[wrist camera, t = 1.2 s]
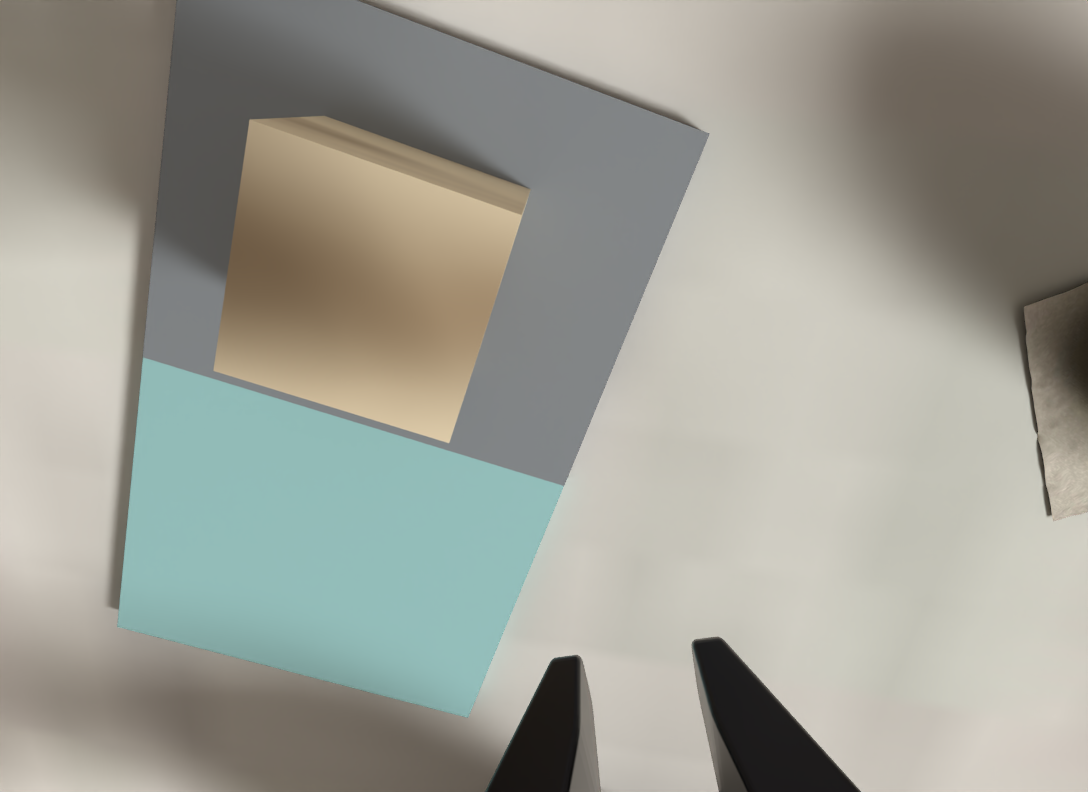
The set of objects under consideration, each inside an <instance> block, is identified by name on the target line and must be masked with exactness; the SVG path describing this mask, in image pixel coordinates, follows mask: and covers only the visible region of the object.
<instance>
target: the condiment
mask: <svg viewBox="0 0 1088 792" xmlns="http://www.w3.org/2000/svg"><path fill="white" fill-rule="evenodd" d="M1024 317H1025V325H1026V331H1027V335H1026V345H1027V351H1028V361H1029V369H1030V374H1031V378H1032V395H1033V400H1034V408H1035V414H1036V420H1037V426H1038V438H1037V439H1038V442H1039V444H1040V447H1041V451H1042V456H1043V460H1044V467H1045V480H1046V487H1047V490H1048V493H1049V499H1050V505H1051V511H1052V518H1053V521H1056V520H1060V519H1063V518H1066V517H1069V516H1073V515H1079V514H1082V513H1085V512H1088V282H1087V283H1085V284H1083V285H1081V286H1078V287H1076V288H1074V289H1072V290H1070V291H1067V292H1065V293H1062V294H1058V295H1055V296H1052V297H1049V298H1046V299H1044V300H1041V301H1038V302H1035V303H1033V304H1030V305H1027V306H1024Z"/></svg>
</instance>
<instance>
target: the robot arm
mask: <svg viewBox="0 0 1088 792" xmlns="http://www.w3.org/2000/svg"><path fill="white" fill-rule="evenodd" d="M692 654H693V661H694V668H695V675H696V682H697V689H698V694H699V699H700V704H701V709H702V713H703V718H704V723H705V728H706V732H707V737H708V742H709V747H710V751H711V756H712V761H713V765H714V770H715V775H716V780H717V784H718V789H719V792H861V791H860V790H859V789H858V788H857V787H856V786H855V784H854V783H853V782H852V781H851V780H850V779H849V778H848V777H847V776H846V775H845V773H844V772H843V771H842V770H841V769H840V768H839V767H838V766H837V765H836V763H835V762H834V761H833V760H832V759H831V758H830V757H829V756H828V755H827V754H826V752H825V751H824V750H823V749H822V748H821V747H820V746H819V745H818V744H817V742H816V741H815V740H814V739H813V738H812V737H811V736H810V735H809V734H808V732H807V731H806V730H805V729H804V728H803V727H802V726H801V725H800V724H799V723H798V721H797V720H796V719H795V718H794V717H793V716H792V715H791V714H790V713H789V711H788V710H787V709H786V708H785V707H784V706H783V705H782V704H781V703H780V702H779V700H778V699H777V698H776V697H775V696H774V695H773V694H772V693H771V692H770V690H769V689H768V688H767V687H766V686H765V685H764V684H763V683H762V682H761V681H760V679H759V678H758V677H757V676H756V675H755V674H754V673H753V672H752V671H751V669H750V668H749V667H748V666H747V665H746V664H745V663H744V662H743V661H742V659H741V658H740V657H739V656H738V655H737V654H736V653H735V652H734V651H733V650H732V648H731V647H730V646H729V645H728V644H727V643H726V642H725V641H724V640H723V639H722V638H720V637H711V638H703V639H696V640H694V641H693V642H692ZM485 792H601V789H600V778H599V768H598V757H597V747H596V737H595V726H594V716H593V707H592V701H591V695H590V691H589V687H588V682H587V678H586V674H585V669H584V665H583V661H582V659H581V657H580V656H578V655H573V656H565V657H558V658H554V659H553V660H552V661H551V662H550V664H549V666H548V668H547V670H546V672H545V674H544V676H543V678H542V680H541V682H540V684H539V686H538V688H537V690H536V692H535V694H534V696H533V698H532V700H531V702H530V704H529V706H528V708H527V710H526V712H525V714H524V716H523V718H522V720H521V722H520V724H519V725H518V727H517V729H516V731H515V733H514V735H513V737H512V739H511V741H510V743H509V745H508V747H507V749H506V751H505V753H504V755H503V757H502V759H501V761H500V763H499V765H498V767H497V769H496V771H495V773H494V775H493V777H492V779H491V781H490V783H489V785H488V787H487V789H486V791H485Z"/></svg>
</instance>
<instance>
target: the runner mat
mask: <svg viewBox="0 0 1088 792" xmlns="http://www.w3.org/2000/svg"><path fill="white" fill-rule="evenodd" d="M310 116H327V117H329V118H332V119H335V120H338V121H341V122H343V123H346V124H349V125H352V126H355V127H357V128H360V129H363V130H366V131H369V132H371V133H374V134H377V135H380V136H383V137H385V138H388V139H391V140H394V141H397V142H399V143H402V144H405V145H408V146H411V147H413V148H416V149H419V150H422V151H425V152H427V153H430V154H433V155H436V156H439V157H441V158H444V159H447V160H450V161H453V162H455V163H458V164H461V165H464V166H467V167H469V168H472V169H475V170H478V171H481V172H483V173H486V174H489V175H492V176H495V177H497V178H500V179H503V180H506V181H509V182H511V183H514V184H517V185H520V186H523V187H525V188H528V189H531V190H530V193H529V196H528V199H527V203H526V206H525V209H524V212H523V215H522V218H521V221H520V224H519V228H518V231H517V234H516V237H515V240H514V243H513V246H512V250H511V253H510V256H509V259H508V262H507V265H506V268H505V271H504V275H503V278H502V281H501V284H500V287H499V290H498V293H497V296H496V300H495V303H494V306H493V309H492V312H491V315H490V318H489V322H488V325H487V328H486V331H485V334H484V337H483V340H482V343H481V347H480V350H479V353H478V356H477V359H476V362H475V365H474V368H473V372H472V375H471V378H470V381H469V384H468V387H467V390H466V393H465V396H464V399H463V402H462V405H461V408H460V411H459V414H458V417H457V421H456V424H455V427H454V430H453V433H452V436H451V439H450V442H449V443H447V442H443V441H440V440H437V439H434V438H430V437H427V436H424V435H421V434H417V433H414V432H411V431H408V430H404V429H401V428H398V427H395V426H391V425H388V424H385V423H381V422H378V421H375V420H372V419H368V418H365V417H362V416H359V415H355V414H352V413H349V412H346V411H342V410H339V409H336V408H333V407H329V406H326V405H323V404H320V403H316V402H313V401H310V400H307V399H303V398H300V397H297V396H294V395H290V394H287V393H284V392H281V391H277V390H274V389H271V388H267V387H264V386H261V385H258V384H254V383H251V382H248V381H245V380H241V379H238V378H235V377H232V376H228V375H225V374H222V373H219V372H215V371H213V370H214V363H215V356H216V349H217V342H218V335H219V328H220V321H221V314H222V308H223V301H224V294H225V287H226V280H227V273H228V266H229V259H230V252H231V245H232V238H233V231H234V224H235V217H236V210H237V203H238V196H239V190H240V183H241V176H242V169H243V162H244V155H245V148H246V141H247V134H248V127H249V120H250V119H270V118H290V117H310ZM708 136H709V133H706V132H704V131H701V130H698V129H696V128H693V127H690V126H688V125H685V124H683V123H680V122H677V121H675V120H672V119H669V118H667V117H664V116H661V115H659V114H656V113H654V112H651V111H648V110H646V109H643V108H640V107H638V106H635V105H632V104H630V103H627V102H624V101H622V100H619V99H617V98H614V97H611V96H609V95H606V94H603V93H601V92H598V91H595V90H593V89H590V88H588V87H585V86H582V85H580V84H577V83H574V82H572V81H569V80H566V79H564V78H561V77H559V76H556V75H553V74H551V73H548V72H545V71H543V70H540V69H537V68H535V67H532V66H529V65H527V64H524V63H522V62H519V61H516V60H514V59H511V58H508V57H506V56H503V55H500V54H498V53H495V52H493V51H490V50H487V49H485V48H482V47H479V46H477V45H474V44H471V43H469V42H466V41H463V40H461V39H458V38H456V37H453V36H450V35H448V34H445V33H442V32H440V31H437V30H434V29H432V28H429V27H427V26H424V25H421V24H419V23H416V22H413V21H411V20H408V19H405V18H403V17H400V16H398V15H395V14H392V13H390V12H387V11H384V10H382V9H379V8H376V7H374V6H371V5H368V4H366V3H363V2H361V1H358V0H177V3H176V13H175V24H174V34H173V45H172V55H171V66H170V76H169V87H168V97H167V108H166V118H165V129H164V139H163V150H162V160H161V170H160V181H159V191H158V202H157V212H156V223H155V233H154V244H153V254H152V265H151V275H150V286H149V296H148V307H147V317H146V328H145V338H144V349H143V363H142V374H141V384H140V395H139V405H138V416H137V426H136V437H135V447H134V457H133V468H132V478H131V489H130V499H129V510H128V520H127V531H126V541H125V551H124V562H123V572H122V583H121V593H120V604H119V614H118V625H117V627H120V628H124V629H128V630H131V631H135V632H139V633H143V634H147V635H151V636H155V637H158V638H162V639H166V640H170V641H174V642H178V643H182V644H185V645H189V646H193V647H197V648H201V649H205V650H209V651H212V652H216V653H220V654H224V655H228V656H232V657H236V658H239V659H243V660H247V661H251V662H255V663H259V664H263V665H266V666H270V667H274V668H278V669H282V670H286V671H289V672H293V673H297V674H301V675H305V676H309V677H313V678H316V679H320V680H324V681H328V682H332V683H336V684H340V685H343V686H347V687H351V688H355V689H359V690H363V691H367V692H370V693H374V694H378V695H382V696H386V697H390V698H394V699H397V700H401V701H405V702H409V703H413V704H417V705H421V706H424V707H428V708H432V709H436V710H440V711H444V712H448V713H451V714H455V715H459V716H463V717H467V718H468V717H469V714H470V712H471V709H472V707H473V705H474V702H475V700H476V697H477V695H478V692H479V690H480V688H481V685H482V683H483V680H484V678H485V675H486V673H487V671H488V668H489V666H490V663H491V661H492V659H493V656H494V654H495V651H496V649H497V646H498V644H499V642H500V639H501V637H502V634H503V632H504V630H505V627H506V625H507V622H508V620H509V617H510V615H511V613H512V610H513V608H514V605H515V603H516V600H517V598H518V596H519V593H520V591H521V588H522V586H523V584H524V581H525V579H526V576H527V574H528V571H529V569H530V567H531V564H532V562H533V559H534V557H535V554H536V552H537V550H538V547H539V545H540V542H541V540H542V538H543V535H544V533H545V530H546V528H547V525H548V523H549V521H550V518H551V516H552V513H553V511H554V509H555V506H556V504H557V501H558V499H559V496H560V494H561V492H562V489H563V487H564V485H565V482H566V480H567V477H568V475H569V473H570V470H571V468H572V465H573V463H574V460H575V458H576V456H577V453H578V451H579V448H580V446H581V444H582V441H583V439H584V436H585V434H586V431H587V429H588V427H589V424H590V422H591V419H592V417H593V415H594V412H595V410H596V407H597V405H598V402H599V400H600V398H601V395H602V393H603V390H604V388H605V385H606V383H607V381H608V378H609V376H610V373H611V371H612V369H613V366H614V364H615V361H616V359H617V356H618V354H619V352H620V349H621V347H622V344H623V342H624V340H625V337H626V335H627V332H628V330H629V327H630V325H631V323H632V320H633V318H634V315H635V313H636V310H637V308H638V306H639V303H640V301H641V298H642V296H643V294H644V291H645V289H646V286H647V284H648V281H649V279H650V277H651V274H652V272H653V269H654V267H655V265H656V262H657V260H658V257H659V255H660V252H661V250H662V248H663V245H664V243H665V240H666V238H667V235H668V233H669V231H670V228H671V226H672V223H673V221H674V219H675V216H676V214H677V211H678V209H679V206H680V204H681V202H682V199H683V197H684V194H685V192H686V190H687V187H688V185H689V182H690V180H691V177H692V175H693V173H694V170H695V168H696V165H697V163H698V160H699V158H700V156H701V153H702V151H703V148H704V146H705V144H706V141H707V139H708Z"/></svg>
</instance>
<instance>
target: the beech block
mask: <svg viewBox="0 0 1088 792" xmlns="http://www.w3.org/2000/svg"><path fill="white" fill-rule="evenodd" d="M530 190H531V189H528V188H525V187H523V186H520V185H517V184H514V183H511V182H509V181H506V180H503V179H500V178H497V177H495V176H492V175H489V174H486V173H483V172H481V171H478V170H475V169H472V168H469V167H467V166H464V165H461V164H458V163H455V162H453V161H450V160H447V159H444V158H441V157H439V156H436V155H433V154H430V153H427V152H425V151H422V150H419V149H416V148H413V147H411V146H408V145H405V144H402V143H399V142H397V141H394V140H391V139H388V138H385V137H383V136H380V135H377V134H374V133H371V132H369V131H366V130H363V129H360V128H357V127H355V126H352V125H349V124H346V123H343V122H341V121H338V120H335V119H332V118H329V117H327V116H310V117H290V118H270V119H250V120H249V127H248V134H247V141H246V148H245V155H244V162H243V169H242V176H241V183H240V190H239V196H238V203H237V210H236V217H235V224H234V231H233V238H232V245H231V252H230V259H229V266H228V273H227V280H226V287H225V294H224V301H223V308H222V314H221V321H220V328H219V335H218V342H217V349H216V356H215V363H214V370H213V371H215V372H219V373H222V374H225V375H228V376H232V377H235V378H238V379H241V380H245V381H248V382H251V383H254V384H258V385H261V386H264V387H267V388H271V389H274V390H277V391H281V392H284V393H287V394H290V395H294V396H297V397H300V398H303V399H307V400H310V401H313V402H316V403H320V404H323V405H326V406H329V407H333V408H336V409H339V410H342V411H346V412H349V413H352V414H355V415H359V416H362V417H365V418H368V419H372V420H375V421H378V422H381V423H385V424H388V425H391V426H395V427H398V428H401V429H404V430H408V431H411V432H414V433H417V434H421V435H424V436H427V437H430V438H434V439H437V440H440V441H443V442H447V443H449V442H450V439H451V436H452V433H453V430H454V427H455V424H456V421H457V417H458V414H459V411H460V408H461V405H462V402H463V399H464V396H465V393H466V390H467V387H468V384H469V381H470V378H471V375H472V372H473V368H474V365H475V362H476V359H477V356H478V353H479V350H480V347H481V343H482V340H483V337H484V334H485V331H486V328H487V325H488V322H489V318H490V315H491V312H492V309H493V306H494V303H495V300H496V296H497V293H498V290H499V287H500V284H501V281H502V278H503V275H504V271H505V268H506V265H507V262H508V259H509V256H510V253H511V250H512V246H513V243H514V240H515V237H516V234H517V231H518V228H519V224H520V221H521V218H522V215H523V212H524V209H525V206H526V203H527V199H528V196H529V193H530Z"/></svg>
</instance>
